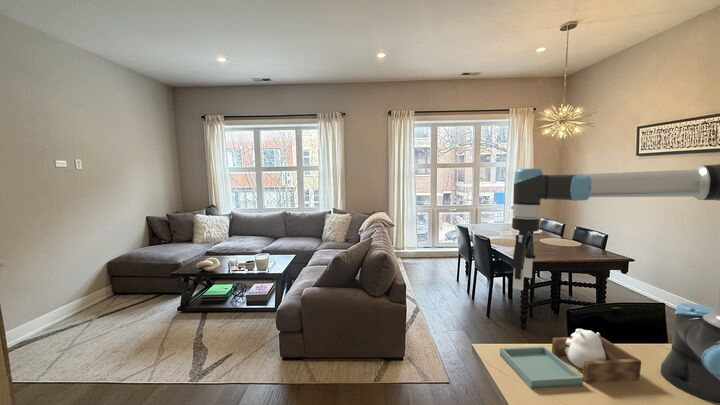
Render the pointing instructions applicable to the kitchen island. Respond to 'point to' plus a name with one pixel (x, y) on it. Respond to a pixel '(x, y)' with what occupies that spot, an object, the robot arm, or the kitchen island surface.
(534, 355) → the tray
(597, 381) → the wooden open box
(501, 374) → the kitchen island surface
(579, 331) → the figurine
